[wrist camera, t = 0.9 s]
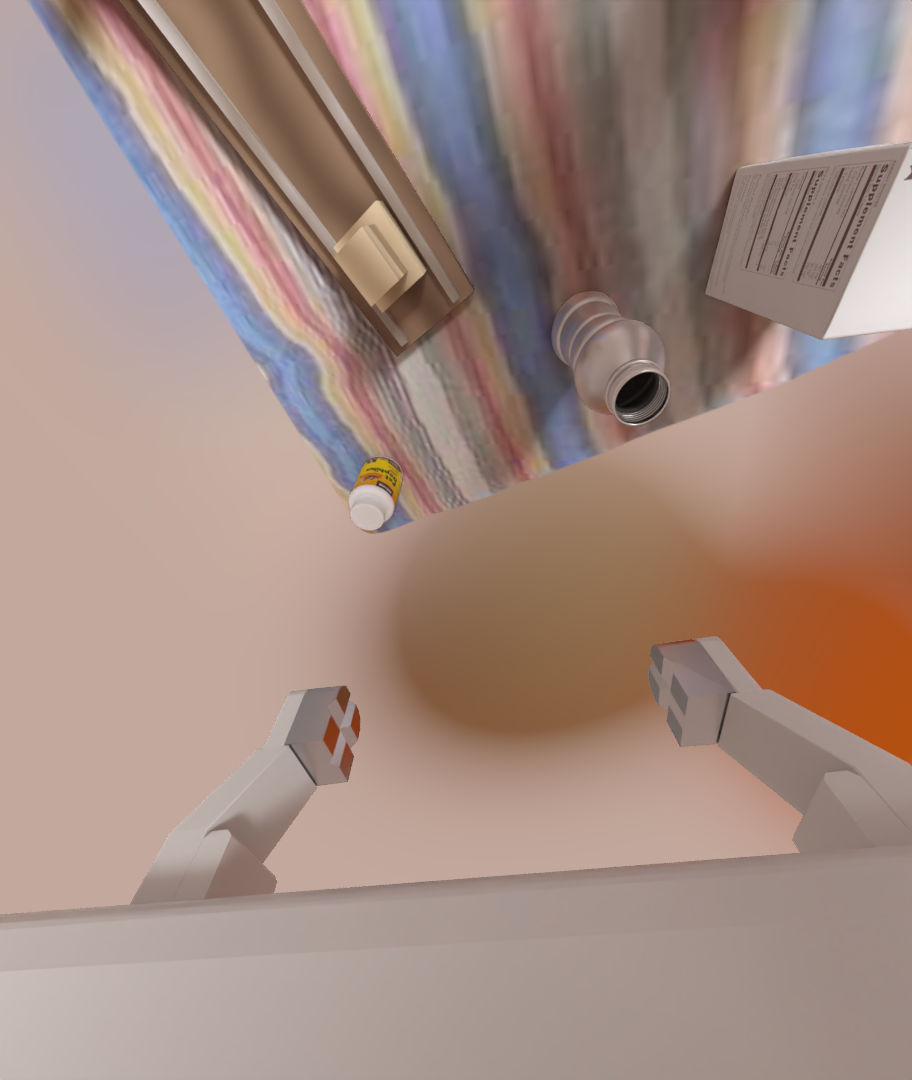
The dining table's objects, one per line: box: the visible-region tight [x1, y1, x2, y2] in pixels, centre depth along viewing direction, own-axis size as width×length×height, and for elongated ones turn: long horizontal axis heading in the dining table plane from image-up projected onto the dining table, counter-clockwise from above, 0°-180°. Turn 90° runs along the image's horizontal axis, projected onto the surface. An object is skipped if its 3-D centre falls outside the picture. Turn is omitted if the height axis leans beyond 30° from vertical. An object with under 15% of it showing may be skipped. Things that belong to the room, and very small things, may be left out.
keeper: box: [333, 201, 427, 313], centre depth 32 cm, size 5×6×8 cm
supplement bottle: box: [348, 456, 403, 530], centre depth 49 cm, size 6×6×10 cm
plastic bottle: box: [552, 291, 671, 426], centre depth 32 cm, size 6×7×20 cm
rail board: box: [119, 0, 474, 356], centre depth 29 cm, size 10×35×6 cm, turn 37°
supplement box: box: [705, 141, 912, 340], centre depth 28 cm, size 10×9×17 cm
